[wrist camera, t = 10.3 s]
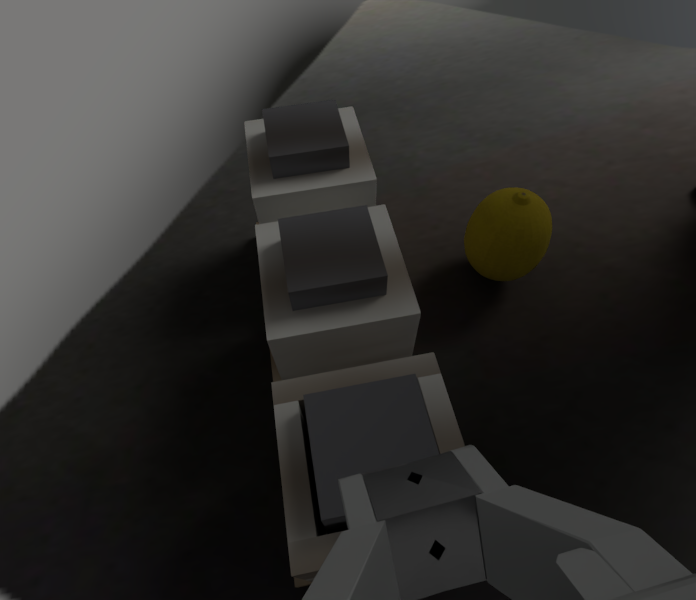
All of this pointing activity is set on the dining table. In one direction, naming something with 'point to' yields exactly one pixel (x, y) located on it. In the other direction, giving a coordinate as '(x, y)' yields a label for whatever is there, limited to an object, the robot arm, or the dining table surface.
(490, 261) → the lemon
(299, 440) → the button panel
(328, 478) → the plain button
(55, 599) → the dining table surface
